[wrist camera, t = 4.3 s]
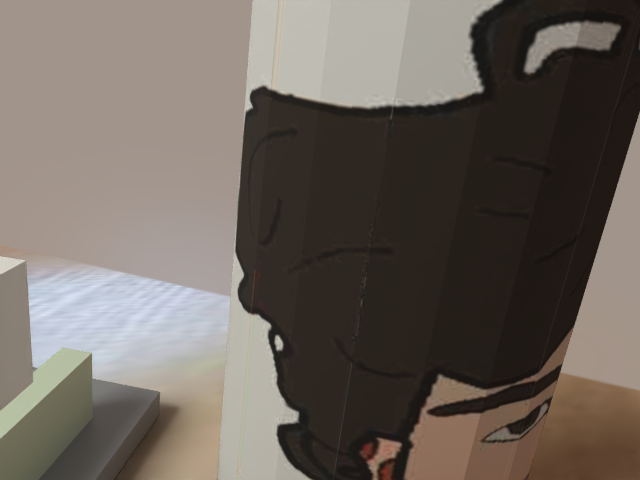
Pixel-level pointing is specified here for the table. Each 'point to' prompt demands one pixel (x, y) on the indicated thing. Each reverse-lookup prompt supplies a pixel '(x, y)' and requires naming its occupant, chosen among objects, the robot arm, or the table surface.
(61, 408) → the holder
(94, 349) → the table surface
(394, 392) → the white printed cylinder
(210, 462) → the table surface
